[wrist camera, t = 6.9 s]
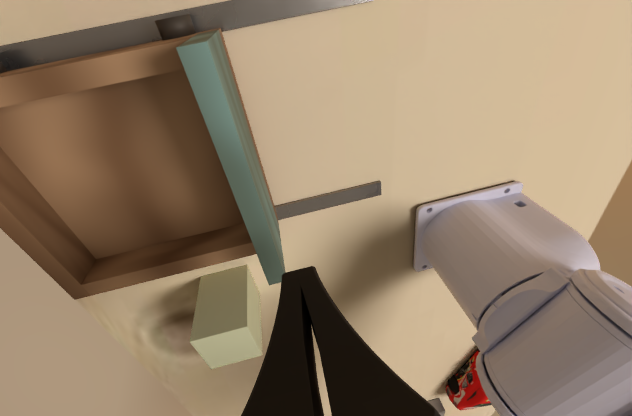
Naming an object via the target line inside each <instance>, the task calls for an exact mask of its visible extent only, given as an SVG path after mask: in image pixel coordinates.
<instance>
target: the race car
mask: <svg viewBox="0 0 632 416" xmlns="http://www.w3.org/2000/svg"><path fill="white" fill-rule="evenodd" d="M479 352H480V351H477V352H476V353H475V354H474V355H473V356H472V357H471V358H470V360H469V361H468V362H467V363H466V364H465V365H464V366H463V367H462V368H461V370H460V371H459V372H458V373H457V374H456V375H455V376H452V377H451V378H450V379H449V380H448V384H449V385H447V387H446V393H447V395H448V397H449V399H450V401H451V402H452V403H453V404H454V405H455V407H456V408H458V409H459V410H467V409H474V408H477V407H482V406H488V405H492V404H491V403H490V401H489V399H488V398H487V396H486V394H485V392H484V390H483V388H482V385H481V383H480V379H479V376H478V374H477V369H476V358H477V355H478V354H479Z"/></svg>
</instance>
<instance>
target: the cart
mask: <svg viewBox="0 0 632 416" xmlns="http://www.w3.org/2000/svg"><path fill="white" fill-rule="evenodd" d="M155 23H156V26H157V28H158V31H159V33H160V36H161V38H162V40H159V41H154V42H149V43H144V44H139V45H134V46H129V47H124V48H120V49H115V50H110V51H105V52H100V53H95V54H90V55H85V56H80V57H75V58H70V59H66V60H61V61H56V62H51V63H46V64H41V65H36V66H31V67H26V68H21V69H16V70H11V71H8V70H7V69H6V68H5V66H4V65H3V63H2V62H1V61H0V228H1V229H2V230H3V231H4V232H5V233H6V234H7V235H8V236H9V237H10V238H11V239H12V240H13V241H14V242H15V243H16V244H18V245H19V246H20V247H21V248H22V249H23V250H24V251H25V252H26V253H27V254H28V255H29V256H30V257H31V258H32V259H33V260H34V261H35V262H36V263H37V264H38V265H39V266H40V267H41V268H42V269H43V270H45V271H46V272H47V273H48V274H49V275H50V276H51V277H52V278H53V279H54V280H55V281H56V282H57V283H58V284H59V285H60V286H61V287H62V288H63V289H64V290H65V291H66V292H67V293H68V294H69V295H70V296H71V297H73V298H74V299H79V298H83V297H87V296H91V295H95V294H99V293H103V292H107V291H111V290H115V289H119V288H123V287H127V286H131V285H135V284H139V283H143V282H147V281H151V280H155V279H159V278H163V277H167V276H171V275H175V274H179V273H183V272H187V271H190V270H194V269H198V268H202V267H206V266H210V265H214V264H218V263H222V262H226V261H230V260H234V259H238V258H242V257H246V256H250V255H254V254H257V256H258V258H259V261H260V263H261V266H262V268H263V271H264V274H265V276H266V279H267V281H268V284H269V285H272V284H276V283H280V282H282V275H283V274H284V273H285V267H284V260H283V253H282V246H281V239H280V231H279V224H278V217H277V214H276V210H275V207H274V204H273V200H272V197H271V194H270V190H269V187H268V184H267V180H266V177H265V174H264V171H263V167H262V164H261V161H260V157H259V154H258V151H257V147H256V144H255V141H254V137H253V134H252V131H251V127H250V124H249V121H248V118H247V114H246V111H245V108H244V104H243V101H242V98H241V94H240V91H239V88H238V84H237V81H236V78H235V74H234V71H233V68H232V65H231V61H230V58H229V55H228V51H227V48H226V45H225V41H224V38H223V35H222V31H221V28H218V29H213V30H208V31H203V32H198V33H196V32H195V29H194V26H193V23H192V20H191V17H190V15H189V14H186V15H181V16H176V17H171V18H166V19H161V20H156V21H155Z"/></svg>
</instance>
